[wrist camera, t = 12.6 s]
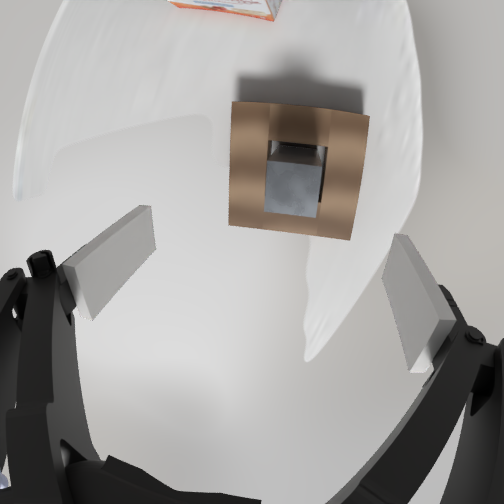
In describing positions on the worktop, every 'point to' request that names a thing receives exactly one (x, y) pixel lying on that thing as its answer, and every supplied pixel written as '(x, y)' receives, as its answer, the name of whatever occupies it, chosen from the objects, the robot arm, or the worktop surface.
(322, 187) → the socket plate
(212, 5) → the cracker box
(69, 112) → the worktop surface
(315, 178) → the peg
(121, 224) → the robot arm
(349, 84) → the worktop surface
